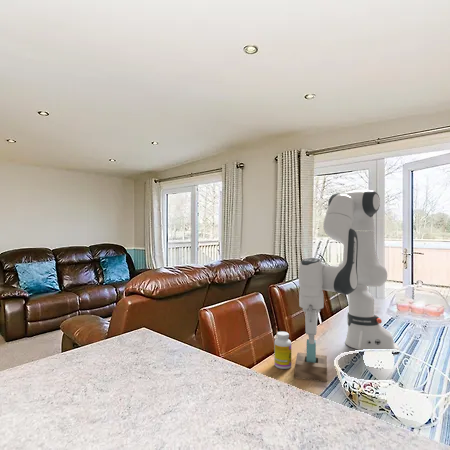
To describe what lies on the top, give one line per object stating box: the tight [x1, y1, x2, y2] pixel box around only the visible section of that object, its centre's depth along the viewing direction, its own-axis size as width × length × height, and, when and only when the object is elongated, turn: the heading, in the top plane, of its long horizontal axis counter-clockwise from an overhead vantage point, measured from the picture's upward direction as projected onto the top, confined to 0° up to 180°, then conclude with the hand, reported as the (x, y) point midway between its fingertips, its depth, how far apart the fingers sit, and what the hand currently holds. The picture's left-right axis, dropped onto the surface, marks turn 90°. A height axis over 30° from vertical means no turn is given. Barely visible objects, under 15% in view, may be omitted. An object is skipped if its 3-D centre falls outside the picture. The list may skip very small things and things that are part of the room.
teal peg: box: [306, 338, 317, 363], centre depth 118 cm, size 3×3×12 cm
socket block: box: [294, 352, 328, 383], centre depth 118 cm, size 11×11×5 cm
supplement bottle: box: [273, 331, 292, 370], centre depth 124 cm, size 7×7×13 cm
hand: (312, 338), depth 118 cm, fingers open, 8 cm apart
